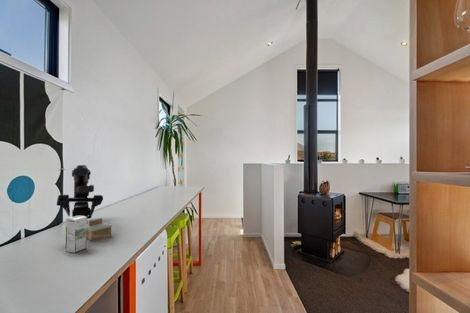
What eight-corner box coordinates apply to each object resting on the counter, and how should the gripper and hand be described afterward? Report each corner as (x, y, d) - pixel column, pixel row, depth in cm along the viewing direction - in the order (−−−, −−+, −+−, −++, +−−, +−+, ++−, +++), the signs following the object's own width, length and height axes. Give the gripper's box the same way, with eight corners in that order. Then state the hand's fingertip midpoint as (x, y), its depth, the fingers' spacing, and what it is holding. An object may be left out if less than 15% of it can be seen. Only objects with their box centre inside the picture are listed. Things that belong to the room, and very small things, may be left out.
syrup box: (77, 246, 108) (77, 215, 108) (87, 248, 107) (87, 216, 107) (65, 251, 103) (65, 218, 103) (75, 253, 101) (74, 219, 101)
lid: (81, 226, 122) (81, 220, 122) (100, 222, 130) (100, 216, 130) (92, 231, 115) (91, 224, 115) (111, 226, 122) (111, 219, 122)
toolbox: (82, 236, 122) (82, 227, 122) (100, 232, 130) (100, 223, 130) (92, 241, 115) (92, 231, 115) (111, 236, 122) (111, 227, 122)
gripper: (61, 177, 112) (59, 207, 103) (105, 179, 124) (106, 206, 115) (57, 191, 118) (55, 219, 109) (99, 191, 130) (100, 217, 121)
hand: (80, 215), depth 114 cm, fingers open, 9 cm apart
